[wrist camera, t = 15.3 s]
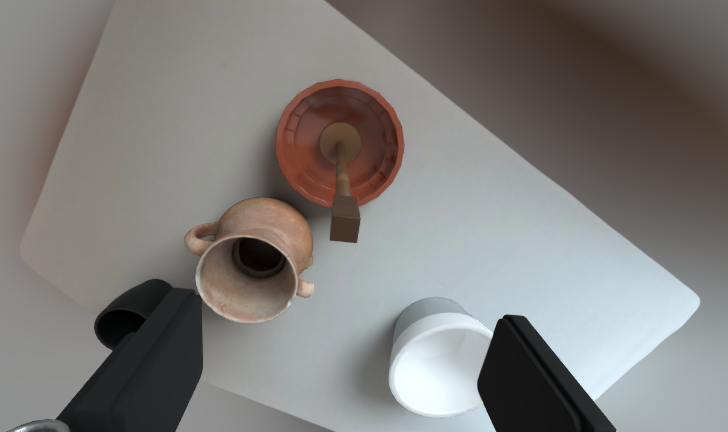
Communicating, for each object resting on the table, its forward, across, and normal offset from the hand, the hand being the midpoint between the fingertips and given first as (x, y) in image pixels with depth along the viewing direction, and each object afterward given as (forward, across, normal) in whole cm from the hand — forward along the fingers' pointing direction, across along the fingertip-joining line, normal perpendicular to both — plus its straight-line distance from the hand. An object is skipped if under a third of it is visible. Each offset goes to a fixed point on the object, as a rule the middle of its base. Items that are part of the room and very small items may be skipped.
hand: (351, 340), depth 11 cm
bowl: (+42, -21, +32) cm, 57 cm away
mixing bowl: (+42, 0, 0) cm, 42 cm away
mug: (+42, +25, +29) cm, 57 cm away
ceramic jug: (+42, +10, +16) cm, 46 cm away
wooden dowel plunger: (+42, 0, 0) cm, 42 cm away
